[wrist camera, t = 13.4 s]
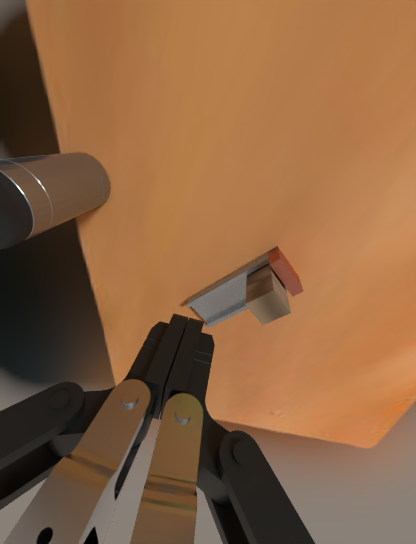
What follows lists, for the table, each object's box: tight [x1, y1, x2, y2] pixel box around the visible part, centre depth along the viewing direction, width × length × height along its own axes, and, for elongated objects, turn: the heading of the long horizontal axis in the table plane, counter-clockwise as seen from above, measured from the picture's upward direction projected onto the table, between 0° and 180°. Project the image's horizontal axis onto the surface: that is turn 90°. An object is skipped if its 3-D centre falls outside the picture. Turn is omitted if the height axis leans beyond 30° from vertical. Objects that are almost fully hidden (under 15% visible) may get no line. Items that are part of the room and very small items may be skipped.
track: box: [186, 246, 303, 328], centre depth 46 cm, size 22×8×5 cm, turn 129°
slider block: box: [246, 263, 291, 325], centre depth 40 cm, size 5×5×9 cm
